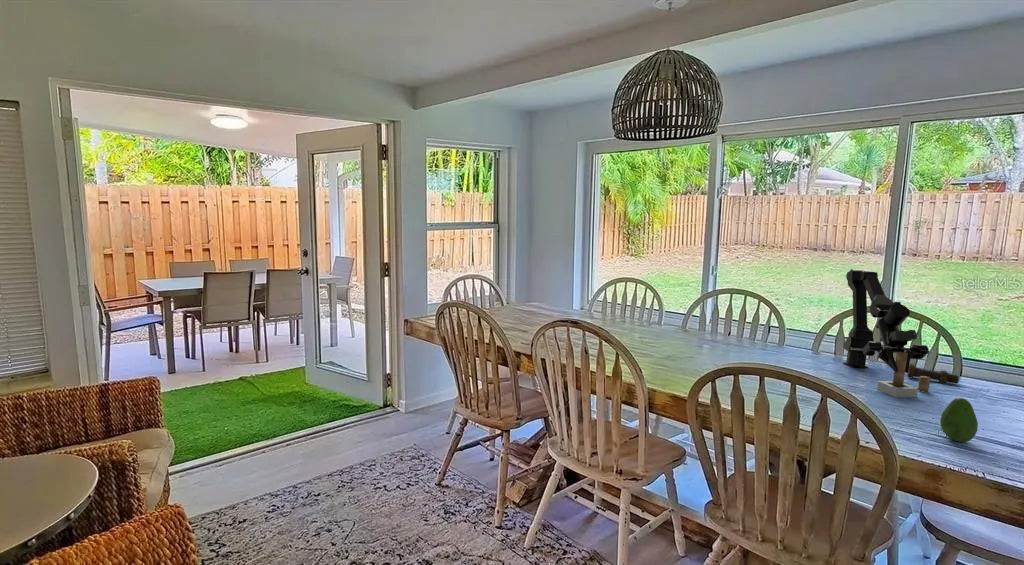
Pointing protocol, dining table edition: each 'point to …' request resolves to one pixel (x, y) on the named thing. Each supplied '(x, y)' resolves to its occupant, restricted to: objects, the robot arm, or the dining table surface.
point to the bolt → (932, 374)
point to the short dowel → (924, 383)
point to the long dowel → (900, 369)
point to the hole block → (897, 389)
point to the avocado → (959, 420)
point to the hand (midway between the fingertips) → (901, 372)
